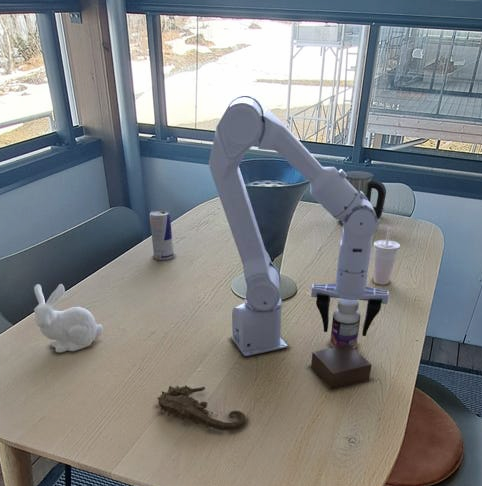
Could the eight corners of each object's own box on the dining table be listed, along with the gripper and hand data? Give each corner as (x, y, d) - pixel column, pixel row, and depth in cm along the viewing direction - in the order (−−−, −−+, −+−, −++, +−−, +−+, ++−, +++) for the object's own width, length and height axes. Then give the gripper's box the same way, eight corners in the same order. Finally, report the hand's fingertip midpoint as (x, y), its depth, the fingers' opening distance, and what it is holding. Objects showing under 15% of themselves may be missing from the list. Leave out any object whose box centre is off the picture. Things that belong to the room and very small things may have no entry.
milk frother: (337, 226, 167) (342, 177, 158) (339, 211, 180) (344, 165, 171) (382, 229, 166) (390, 179, 157) (381, 214, 178) (388, 167, 169)
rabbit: (45, 358, 103) (30, 302, 96) (40, 336, 109) (25, 283, 102) (108, 345, 107) (98, 291, 100) (98, 325, 114) (88, 272, 106)
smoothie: (365, 284, 132) (373, 228, 124) (371, 274, 137) (379, 220, 129) (391, 288, 130) (401, 232, 122) (395, 278, 135) (405, 224, 127)
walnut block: (331, 389, 95) (333, 373, 93) (310, 367, 101) (312, 351, 99) (369, 380, 98) (371, 364, 96) (347, 359, 104) (349, 343, 102)
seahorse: (211, 447, 82) (210, 432, 80) (146, 404, 91) (144, 389, 89) (251, 421, 88) (251, 406, 86) (186, 382, 97) (185, 368, 95)
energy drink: (177, 255, 146) (174, 211, 139) (165, 262, 142) (160, 217, 135) (162, 251, 148) (158, 208, 141) (150, 257, 145) (145, 213, 138)
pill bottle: (328, 338, 110) (333, 295, 104) (354, 338, 110) (360, 296, 104) (331, 351, 106) (335, 307, 100) (357, 352, 106) (364, 308, 100)
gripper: (392, 262, 100) (381, 325, 108) (316, 256, 102) (311, 318, 110) (392, 277, 94) (381, 342, 103) (312, 270, 97) (307, 335, 105)
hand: (344, 331), depth 106 cm, fingers open, 7 cm apart
